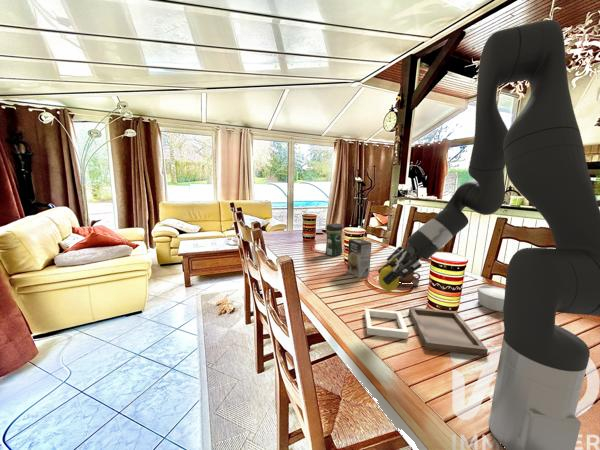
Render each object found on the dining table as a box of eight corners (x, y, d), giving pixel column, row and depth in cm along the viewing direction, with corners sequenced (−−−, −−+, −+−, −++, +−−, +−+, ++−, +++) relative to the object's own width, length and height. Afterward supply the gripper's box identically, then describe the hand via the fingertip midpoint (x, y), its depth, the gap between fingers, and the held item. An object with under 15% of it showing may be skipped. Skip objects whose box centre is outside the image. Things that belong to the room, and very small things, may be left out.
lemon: (399, 297, 68) (401, 269, 66) (379, 295, 69) (380, 268, 67) (396, 289, 73) (397, 263, 72) (377, 287, 74) (378, 262, 73)
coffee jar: (335, 251, 150) (335, 221, 147) (344, 254, 144) (345, 223, 140) (323, 254, 145) (323, 223, 141) (332, 257, 138) (332, 225, 135)
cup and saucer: (413, 277, 109) (414, 264, 108) (423, 289, 98) (424, 275, 97) (385, 276, 111) (386, 263, 110) (392, 288, 99) (393, 273, 98)
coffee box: (346, 271, 116) (348, 239, 113) (357, 269, 119) (359, 237, 116) (358, 278, 108) (360, 243, 105) (370, 276, 111) (372, 242, 108)
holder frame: (408, 339, 67) (408, 332, 66) (367, 334, 69) (367, 328, 68) (399, 317, 77) (400, 311, 77) (364, 314, 79) (364, 308, 79)
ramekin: (489, 296, 92) (491, 283, 91) (524, 311, 81) (526, 296, 80) (467, 300, 88) (469, 287, 87) (501, 316, 78) (503, 301, 77)
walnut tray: (486, 356, 60) (487, 349, 60) (426, 349, 63) (426, 342, 62) (455, 317, 77) (456, 311, 77) (408, 312, 80) (409, 307, 80)
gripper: (410, 225, 74) (369, 261, 77) (430, 234, 60) (378, 278, 63) (427, 242, 74) (385, 278, 77) (451, 255, 60) (398, 298, 63)
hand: (382, 278), depth 70 cm, fingers closed on lemon, 5 cm apart
